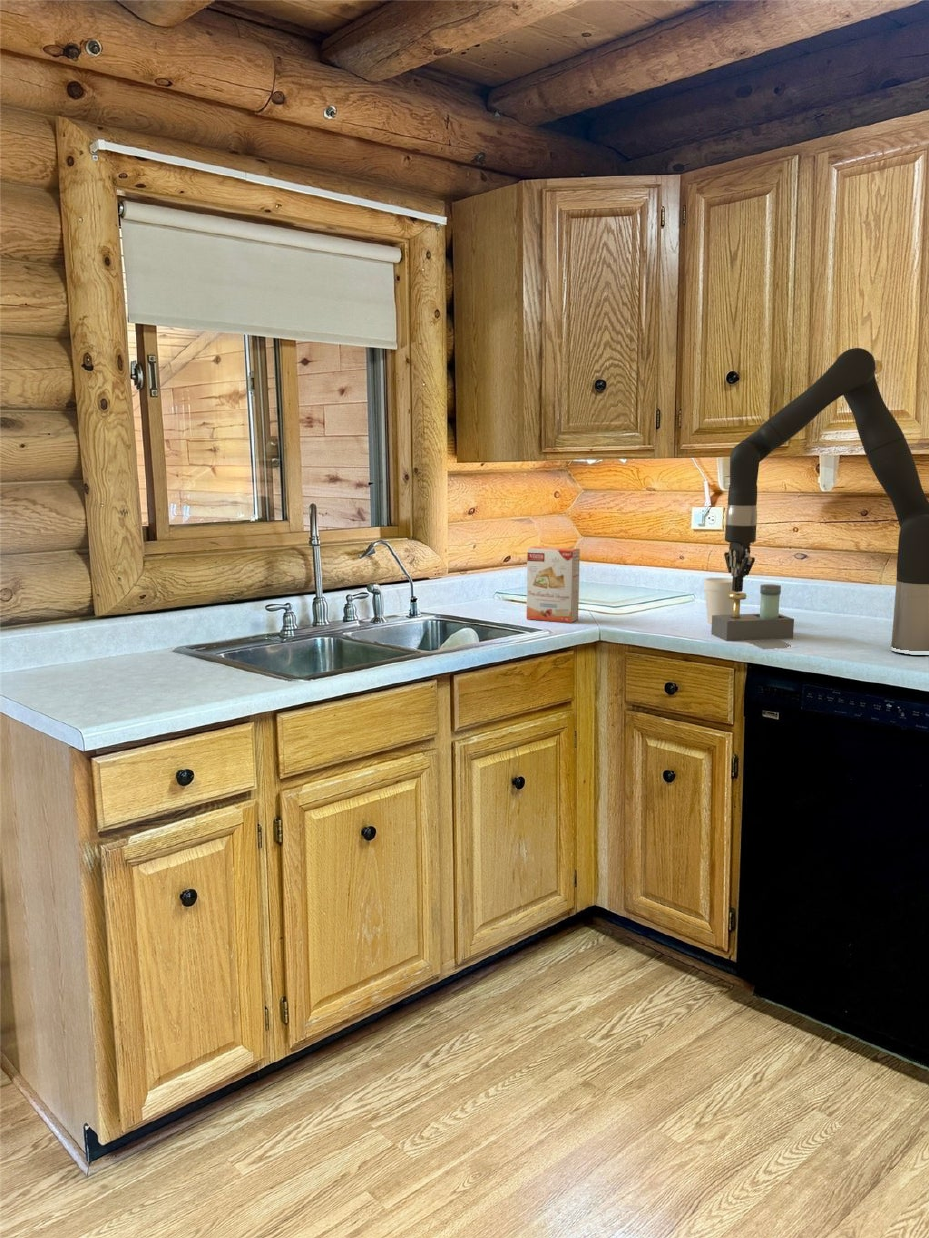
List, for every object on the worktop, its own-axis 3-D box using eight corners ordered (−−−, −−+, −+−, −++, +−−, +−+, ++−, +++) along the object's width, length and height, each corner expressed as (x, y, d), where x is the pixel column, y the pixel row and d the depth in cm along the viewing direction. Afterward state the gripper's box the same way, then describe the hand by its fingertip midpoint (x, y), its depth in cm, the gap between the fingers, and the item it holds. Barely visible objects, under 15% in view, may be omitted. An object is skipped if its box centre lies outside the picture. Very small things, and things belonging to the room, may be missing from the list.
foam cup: (713, 630, 259) (715, 582, 257) (696, 624, 268) (698, 578, 266) (744, 628, 262) (746, 581, 259) (726, 622, 270) (728, 577, 268)
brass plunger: (739, 627, 247) (741, 592, 246) (747, 630, 243) (749, 594, 242) (723, 627, 247) (725, 592, 245) (731, 631, 242) (733, 595, 241)
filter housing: (775, 635, 252) (776, 612, 251) (792, 642, 243) (794, 618, 242) (711, 637, 249) (712, 615, 248) (726, 644, 240) (727, 621, 239)
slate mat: (779, 644, 241) (779, 640, 241) (797, 651, 232) (797, 647, 232) (745, 645, 240) (745, 641, 240) (762, 652, 231) (762, 648, 231)
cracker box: (525, 619, 276) (526, 547, 272) (534, 616, 281) (534, 545, 277) (571, 624, 269) (572, 549, 265) (578, 620, 274) (580, 547, 271)
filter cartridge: (772, 633, 250) (775, 584, 247) (781, 637, 245) (784, 586, 243) (754, 634, 249) (757, 584, 247) (763, 637, 244) (766, 587, 242)
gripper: (767, 525, 234) (763, 595, 238) (743, 520, 247) (739, 587, 250) (738, 525, 233) (734, 595, 236) (715, 521, 246) (712, 587, 249)
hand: (737, 591), depth 243 cm, fingers closed
